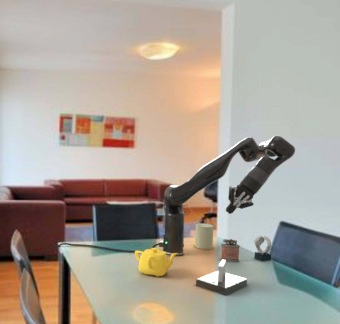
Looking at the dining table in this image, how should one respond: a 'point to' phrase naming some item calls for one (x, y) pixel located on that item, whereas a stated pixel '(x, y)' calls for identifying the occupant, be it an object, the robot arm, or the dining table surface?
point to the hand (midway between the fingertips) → (227, 212)
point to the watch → (261, 254)
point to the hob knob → (222, 271)
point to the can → (204, 236)
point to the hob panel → (221, 283)
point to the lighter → (230, 251)
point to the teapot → (154, 261)
